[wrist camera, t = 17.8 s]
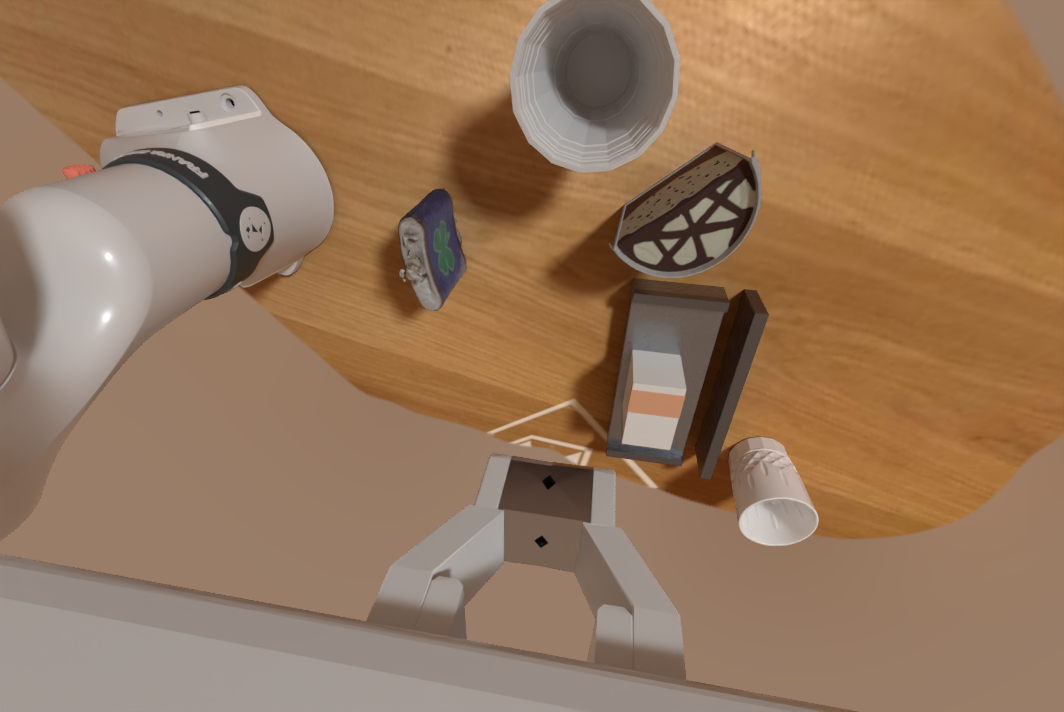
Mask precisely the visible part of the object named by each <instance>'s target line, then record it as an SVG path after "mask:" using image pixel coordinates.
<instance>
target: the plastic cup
mask: <svg viewBox="0 0 1064 712" xmlns="http://www.w3.org/2000/svg"><path fill="white" fill-rule="evenodd" d="M679 73H680V56H679V53H678V49H677V46H676V43H675V40H674V37H673V33H672V30H671V27H670V24H669V21H668V20H667V19H666V18H665V17H664V16H663V15H662V14H661V12H660V11H659V10H658V9H657V8H656V7H655V6H654V5H653V3H652V2H651V1H650V0H549V1H547V2H546V3H544V4H543V5H541V6H540V7H539V9H538V10H537V12H536V13H535V14H534V16H533V17H532V19H531V20H530V22H529V23H528V25H527V26H526V28H525V29H524V31H523V32H522V34H521V35H520V37H519V38H518V42H517V46H516V50H515V54H514V58H513V63H512V67H511V71H510V75H509V78H510V87H511V96H512V105H513V113H514V115H515V117H516V119H517V121H518V123H519V125H520V127H521V129H522V131H523V133H524V135H525V137H526V139H527V141H528V143H530V144H531V145H532V146H533V147H534V148H535V149H536V150H537V151H539V152H540V153H541V154H542V155H543V156H544V157H545V158H546V159H548V160H549V161H550V162H551V163H553V164H555V165H558V166H561V167H564V168H567V169H570V170H573V171H576V172H579V173H587V172H601V171H611V170H613V169H615V168H617V167H619V166H621V165H623V164H625V163H627V162H629V161H631V160H633V159H635V158H637V157H639V156H640V155H641V154H642V153H643V152H644V151H645V150H646V149H647V148H648V147H649V146H650V145H651V144H652V143H653V141H654V140H655V139H656V138H657V137H658V136H659V135H660V134H661V133H662V132H663V130H664V128H665V126H666V123H667V121H668V119H669V116H670V114H671V112H672V110H673V107H674V105H675V103H676V100H677V98H678V88H679Z"/></svg>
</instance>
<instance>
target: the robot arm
mask: <svg viewBox="0 0 1064 712" xmlns="http://www.w3.org/2000/svg"><path fill="white" fill-rule="evenodd" d="M231 99H232V100H233V101H234V104H235V106H233V105H232V103H231ZM100 163H101V168H102V170H99V171H96V170H95V168H94V167H93V166H91V165H73V166H69V167H65V168H63V169H62V172H63V174H64V175H65V177H66V178H67V179H65V180H61V181H58V182H54V183H50V184H46V185H42V186H39V187H35V188H31V189H28V190H25V191H23V192H21V193H18V194H17V195H15V196H13V197H12V198H10V199H9V200H7V201H6V202H4V203H3V204H2V205H1V206H0V541H1V540H2V539H4V538H5V537H7V536H8V535H9V534H11V533H12V532H13V531H14V530H15V529H17V528H18V527H19V526H20V525H21V524H22V523H23V522H24V521H25V520H26V519H27V518H28V517H29V515H30V514H31V513H32V512H33V510H34V509H35V507H36V506H37V504H38V502H39V500H40V498H41V495H42V492H43V489H44V486H45V483H46V480H47V477H48V475H49V472H50V469H51V467H52V465H53V462H54V461H55V458H56V456H57V454H58V452H59V450H60V449H61V447H62V445H63V444H64V442H65V440H66V439H67V437H68V435H69V434H70V432H71V431H72V430H73V428H74V427H75V425H76V424H77V422H78V421H79V419H80V418H81V417H82V415H83V414H84V413H85V411H86V410H87V409H88V407H89V406H90V405H91V404H92V402H93V401H94V400H95V398H96V397H97V396H98V395H99V393H100V392H101V391H102V390H103V388H104V387H105V386H106V385H107V383H108V382H109V381H110V380H111V378H112V377H113V375H115V373H116V372H117V371H118V370H119V369H120V367H121V366H122V365H123V364H124V363H125V362H126V361H127V359H128V358H129V357H130V356H131V355H132V354H133V353H134V352H135V350H137V349H138V348H139V347H140V346H141V345H142V344H143V343H144V342H145V341H146V340H147V339H148V338H150V337H151V336H152V335H153V334H154V333H156V332H157V331H159V330H160V329H162V328H163V327H164V326H166V325H167V324H169V323H170V322H171V321H173V320H174V319H176V318H177V317H179V316H180V315H181V314H183V313H184V312H186V311H187V310H189V309H190V308H192V307H193V306H195V305H196V304H198V303H199V302H201V301H202V300H207V299H211V298H215V297H217V296H219V295H221V294H224V293H227V292H228V291H231V290H232V289H234V288H235V287H237V286H238V285H239V286H241V287H243V288H245V287H250V286H252V285H254V284H256V283H258V282H260V281H262V280H264V279H265V278H267V277H269V276H271V275H273V274H275V273H278V274H281V275H290V274H292V273H294V272H296V271H297V270H298V269H299V267H300V265H301V263H302V261H303V258H304V256H305V255H306V254H307V253H309V252H310V251H311V250H313V249H315V248H316V247H317V246H319V245H320V244H321V243H322V242H323V241H324V239H325V238H326V236H327V235H328V233H329V231H330V228H331V226H332V222H333V216H334V201H333V194H332V190H331V186H330V183H329V180H328V178H327V175H326V173H325V171H324V169H323V167H322V165H321V163H320V162H319V160H318V159H317V157H316V156H315V154H314V153H313V151H312V150H311V149H310V148H309V147H308V145H307V144H306V143H305V142H304V141H303V140H302V139H301V138H300V137H299V136H298V135H297V134H296V133H294V132H293V131H292V130H291V129H289V128H288V127H286V126H285V125H284V124H282V123H281V122H279V121H278V120H277V119H276V118H275V117H273V116H272V115H271V114H270V112H269V111H268V110H267V108H266V107H265V106H264V104H263V103H262V102H261V100H260V99H259V98H258V97H257V95H256V94H255V93H254V92H253V91H252V90H251V89H249V88H248V87H246V86H242V85H239V86H233V87H228V88H223V89H217V90H212V91H207V92H201V93H196V94H191V95H186V96H180V97H175V98H170V99H165V100H159V101H154V102H149V103H143V104H138V105H133V106H129V107H126V108H122V109H120V110H118V112H117V116H116V136H115V137H111V138H107V139H105V140H104V141H103V142H102V145H101V148H100ZM615 487H616V473H615V471H614V470H610V469H602V468H595V467H594V468H593V467H587V466H580V465H572V464H564V463H557V462H547V461H541V460H535V459H529V458H523V457H517V456H509V455H503V454H496V453H492V454H491V455H490V457H489V460H488V463H487V466H486V469H485V472H484V476H483V479H482V482H481V485H480V488H479V491H478V494H477V497H476V501H475V504H474V505H467V506H466V507H465V508H463V509H462V510H461V511H459V512H458V513H457V514H455V515H454V516H453V517H452V518H451V519H449V520H448V521H447V522H445V523H444V524H443V525H442V526H440V527H439V528H438V529H436V530H435V531H434V532H433V533H432V534H430V535H429V536H428V537H426V538H425V539H424V540H423V541H421V542H420V543H419V544H417V545H416V546H415V547H414V548H412V549H411V550H410V551H409V552H407V553H406V554H405V555H404V556H402V557H401V558H400V559H398V560H397V561H396V562H395V563H393V564H392V565H391V566H390V568H389V571H388V573H387V575H386V577H385V580H384V582H383V585H382V586H381V589H380V591H379V593H378V596H377V598H376V600H375V602H374V605H373V607H372V609H371V611H370V614H369V616H368V618H367V620H366V621H361V620H356V619H351V618H346V617H340V616H335V615H329V614H324V613H318V612H313V611H308V610H302V609H297V608H291V607H286V606H280V605H274V604H270V603H264V602H259V601H253V600H248V599H242V598H237V597H232V596H226V595H221V594H215V593H210V592H204V591H199V590H194V589H188V588H183V587H177V586H172V585H167V584H161V583H156V582H151V581H145V580H140V579H134V578H128V577H123V576H118V575H113V574H107V573H102V572H96V571H91V570H85V569H80V568H75V567H69V566H63V565H58V564H53V563H47V562H42V561H36V560H31V559H26V558H21V557H16V556H10V555H6V554H0V712H857V711H851V710H846V709H841V708H836V707H830V706H825V705H819V704H814V703H808V702H803V701H797V700H792V699H787V698H781V697H776V696H770V695H765V694H759V693H754V692H748V691H743V690H738V689H732V688H727V687H721V686H716V685H711V684H705V683H699V682H694V681H689V680H686V671H685V662H684V651H683V640H682V630H681V620H680V615H679V613H678V612H677V610H676V609H675V608H674V606H673V604H672V603H671V601H670V600H669V598H668V597H667V595H666V594H665V593H664V591H663V590H662V588H661V587H660V585H659V584H658V582H657V581H656V579H655V578H654V576H653V575H652V573H651V572H650V570H649V569H648V567H647V566H646V564H645V563H644V561H643V560H642V558H641V557H640V555H639V554H638V552H637V551H636V549H635V548H634V546H633V545H632V544H631V542H630V541H629V539H628V538H627V536H626V535H625V533H624V532H623V530H622V529H621V528H617V527H615ZM504 561H508V562H514V563H521V564H529V565H537V566H542V567H548V568H553V569H558V570H563V571H568V572H574V573H575V575H576V578H577V579H578V582H579V584H580V586H581V588H582V591H583V593H584V595H585V597H586V599H587V602H588V604H589V606H590V608H591V611H592V612H593V615H594V617H595V619H596V620H595V625H594V629H593V635H592V639H591V644H590V648H589V653H588V658H587V662H585V661H580V660H575V659H569V658H564V657H558V656H553V655H547V654H542V653H536V652H531V651H525V650H520V649H514V648H509V647H504V646H498V645H493V644H487V643H482V642H476V641H470V640H467V637H466V622H465V606H466V604H467V603H468V602H469V601H470V600H471V599H472V598H473V597H474V596H475V594H476V593H477V592H478V591H479V590H480V589H481V588H482V587H483V586H484V584H485V583H486V582H487V581H488V580H489V579H490V578H491V577H492V576H493V575H494V573H495V572H496V571H497V570H498V569H499V568H500V567H501V566H502V565H503V563H504Z"/></svg>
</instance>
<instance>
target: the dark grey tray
mask: <svg viewBox="0 0 1064 712" xmlns="http://www.w3.org/2000/svg"><path fill="white" fill-rule="evenodd" d="M729 305H730V302H729V300H728V297H727V295H726V292H725V290H724V287H715V286H705V285H695V284H685V283H675V282H665V281H654V280H644V279H634V278H633V284H632V290H631V296H630V302H629V308H628V314H627V320H626V326H625V332H624V338H623V344H622V350H621V356H620V362H619V367H618V373H617V379H616V385H615V391H614V397H613V403H612V409H611V415H610V421H609V427H608V433H607V447H606V456H610V457H617V458H625V459H632V460H639V461H646V462H653V463H661V464H668V465H675V466H682V463H683V455H682V454H683V451H684V447H685V444H686V440H687V437H688V433H689V430H690V427H691V423H692V420H693V416H694V413H695V410H696V406H697V403H698V399H699V396H700V393H701V389H702V386H703V382H704V379H705V375H706V372H707V369H708V365H709V362H710V358H711V355H712V352H713V348H714V345H715V341H716V338H717V334H718V331H719V328H720V324H721V321H722V317H723V314H724V312H726V313H727V311H728V308H729ZM768 315H769V314H768V312H767V310H766V308H765V306H764V304H763V302H762V300H761V298H760V296H759V294H758V292H757V291H755V290H745V289H744V292H743V295H742V298H741V301H740V304H739V308H738V311H737V314H736V317H735V321H734V324H733V327H732V330H731V334H730V337H729V340H728V343H727V346H726V350H725V353H724V356H723V359H722V363H721V366H720V369H719V372H718V375H717V379H716V382H715V385H714V388H713V392H712V395H711V398H710V401H709V405H708V408H707V411H706V414H705V417H704V421H703V424H702V427H701V430H700V434H699V437H698V440H697V443H696V446H695V451H696V457H697V463H698V469H699V475H700V478H702V479H710V480H711V477H712V474H713V472H714V469H715V466H716V463H717V460H718V457H719V455H720V452H721V449H722V446H723V443H724V440H725V437H726V435H727V432H728V429H729V426H730V423H731V420H732V418H733V415H734V412H735V409H736V406H737V403H738V401H739V398H740V395H741V392H742V389H743V386H744V384H745V381H746V378H747V375H748V372H749V369H750V366H751V364H752V361H753V358H754V355H755V352H756V349H757V347H758V344H759V341H760V338H761V335H762V332H763V330H764V327H765V324H766V321H767V318H768ZM632 350H641V351H649V352H658V353H667V354H676V355H681V361H682V367H683V372H684V378H685V384H686V389H687V390H686V393H685V400H684V403H683V407H682V411H681V414H680V418H679V419H678V423H677V426H676V430H675V434H674V438H673V441H672V445H671V449H670V450H665V449H658V448H650V447H643V446H636V445H628V444H622V439H621V411H622V404H623V399H624V393H625V388H626V382H627V377H628V371H629V366H630V360H631V355H632Z"/></svg>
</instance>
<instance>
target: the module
mask: <svg viewBox="0 0 1064 712" xmlns="http://www.w3.org/2000/svg"><path fill="white" fill-rule="evenodd" d="M686 390H687V389H686V384H685V378H684V372H683V367H682V361H681V355H676V354H667V353H658V352H649V351H641V350H632V355H631V360H630V366H629V371H628V377H627V382H626V388H625V393H624V399H623V404H622V411H621V439H622V444H628V445H636V446H643V447H650V448H658V449H665V450H670V449H671V445H672V441H673V438H674V434H675V430H676V426H677V423H678V419H679V418H680V414H681V411H682V407H683V403H684V400H685V393H686Z"/></svg>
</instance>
